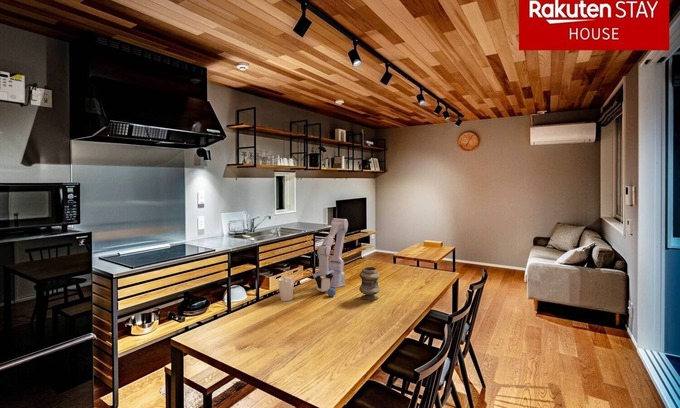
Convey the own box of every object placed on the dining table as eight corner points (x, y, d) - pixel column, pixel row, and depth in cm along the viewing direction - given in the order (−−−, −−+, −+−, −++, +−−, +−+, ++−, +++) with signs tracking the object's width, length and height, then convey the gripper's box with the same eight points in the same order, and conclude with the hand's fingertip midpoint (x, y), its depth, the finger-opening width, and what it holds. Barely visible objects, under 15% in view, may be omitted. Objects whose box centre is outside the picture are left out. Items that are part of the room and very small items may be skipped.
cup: (291, 302, 198) (291, 281, 197) (276, 301, 200) (276, 280, 199) (296, 297, 207) (296, 277, 206) (281, 295, 208) (281, 276, 207)
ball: (337, 289, 207) (337, 296, 208) (333, 285, 211) (332, 293, 212) (330, 290, 204) (330, 298, 205) (326, 287, 208) (325, 294, 209)
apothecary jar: (355, 299, 203) (356, 269, 201) (364, 293, 213) (364, 264, 212) (375, 303, 197) (375, 272, 196) (382, 296, 208) (383, 267, 206)
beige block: (324, 287, 220) (324, 276, 219) (329, 289, 215) (329, 278, 214) (316, 289, 216) (316, 278, 215) (322, 291, 211) (322, 280, 211)
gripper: (329, 262, 221) (329, 283, 222) (310, 265, 212) (310, 287, 213) (336, 264, 216) (336, 285, 217) (316, 268, 207) (316, 290, 208)
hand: (323, 287), depth 215 cm, fingers closed on beige block, 6 cm apart
